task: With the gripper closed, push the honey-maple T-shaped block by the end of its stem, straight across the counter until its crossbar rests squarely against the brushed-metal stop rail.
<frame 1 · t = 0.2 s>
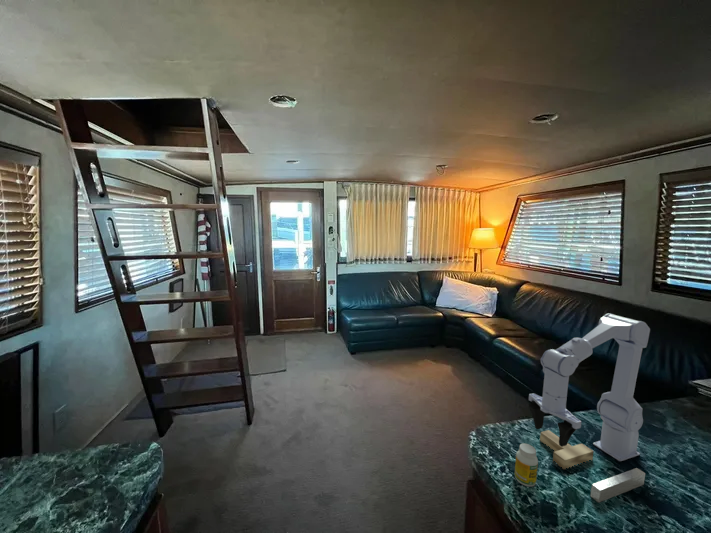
hand: (550, 436, 88), 10 cm above the table, tool pointing down, fingers open, 7 cm apart
supplement bottle: (524, 480, 85), on the table
maple t block: (572, 460, 92), on the table
stop rail: (617, 490, 82), on the table
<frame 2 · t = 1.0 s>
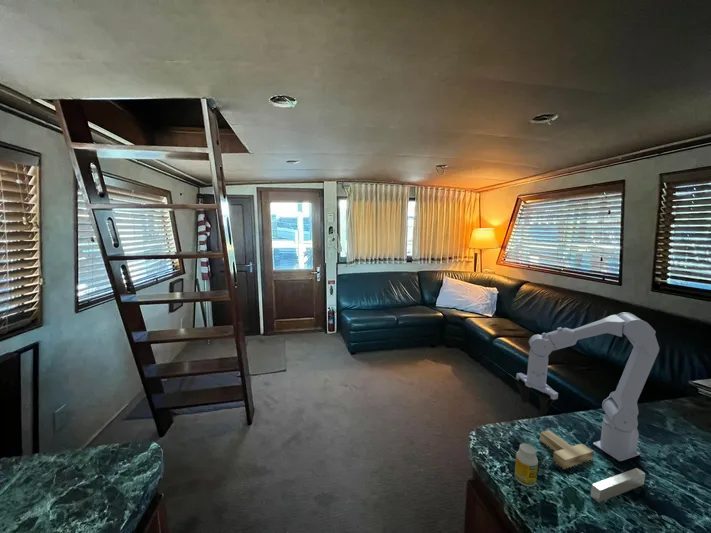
hand: (533, 407, 105), 8 cm above the table, tool pointing down, fingers open, 7 cm apart
nothing on the table moved.
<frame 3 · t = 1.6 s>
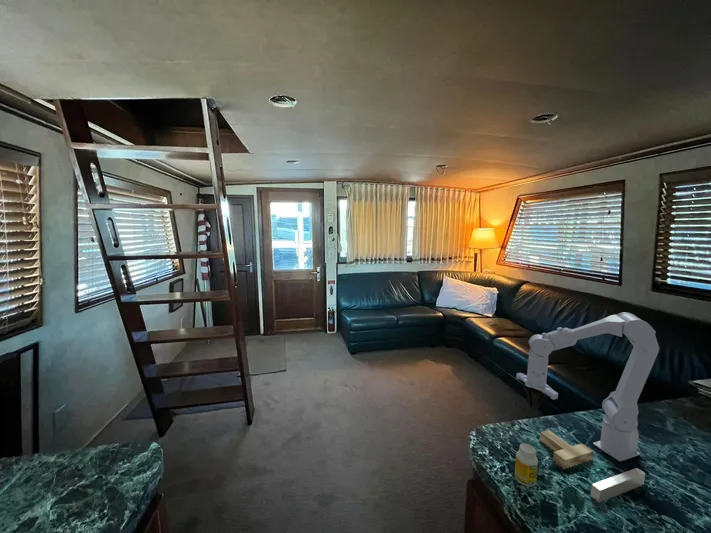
hand: (533, 407, 105), 8 cm above the table, tool pointing down, fingers closed
nothing on the table moved.
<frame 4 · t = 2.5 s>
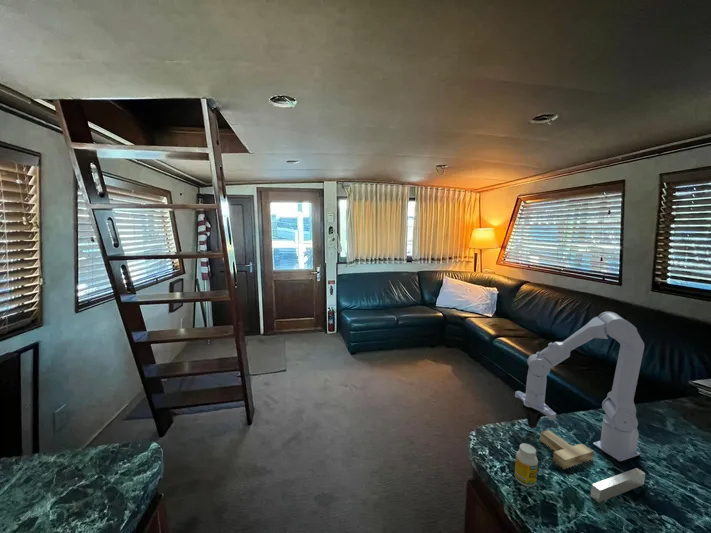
hand: (532, 426, 106), 1 cm above the table, tool pointing down, fingers closed
nothing on the table moved.
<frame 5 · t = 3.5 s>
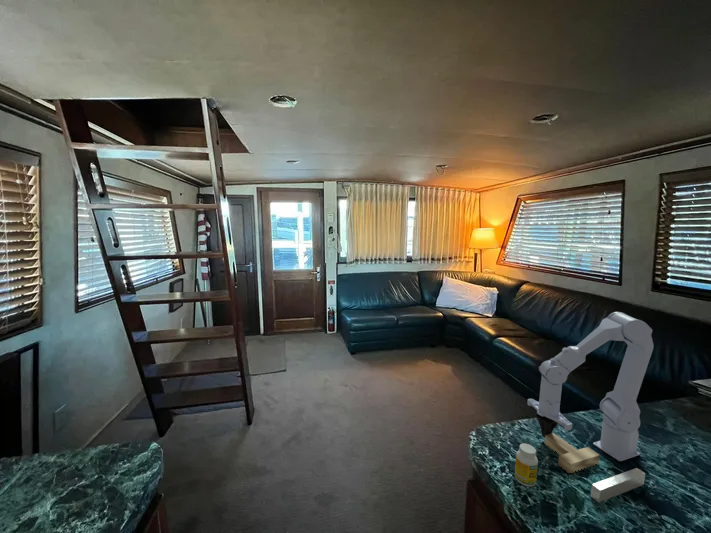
hand: (545, 436, 101), 1 cm above the table, tool pointing down, fingers closed
maple t block: (578, 464, 91), on the table, touching gripper
everything else where it was.
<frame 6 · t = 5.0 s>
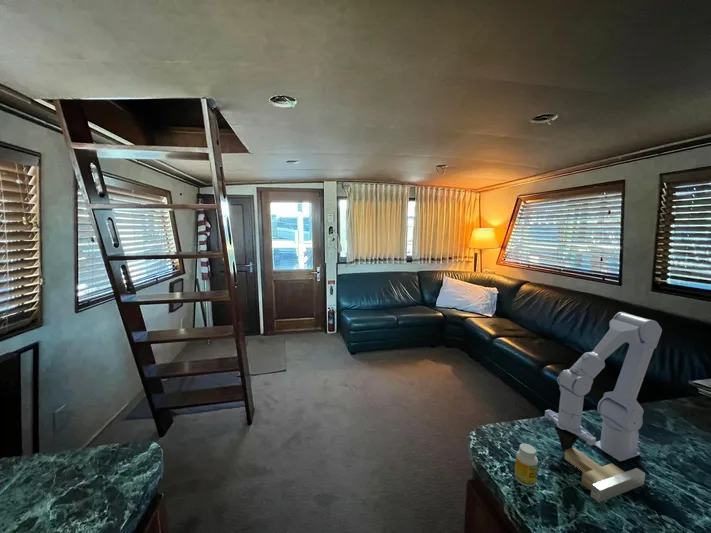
hand: (565, 450, 94), 1 cm above the table, tool pointing down, fingers closed
maple t block: (602, 482, 84), on the table, touching gripper
everything else where it was.
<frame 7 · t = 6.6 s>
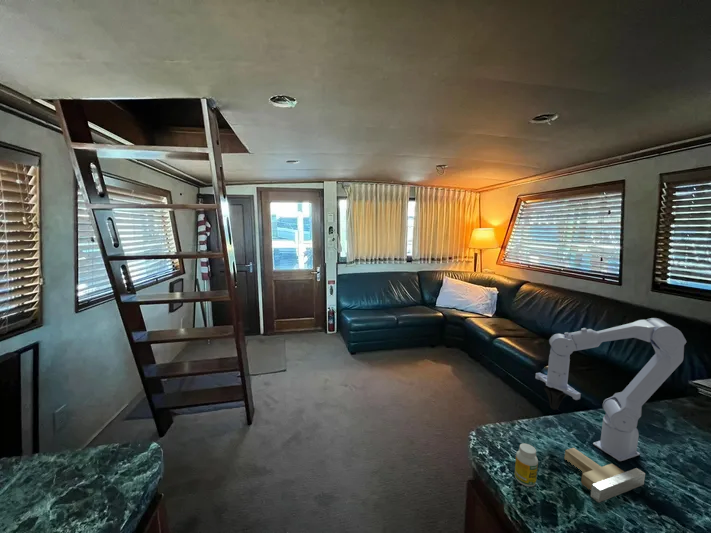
hand: (554, 408, 103), 9 cm above the table, tool pointing down, fingers closed
maple t block: (602, 482, 84), on the table
everything else where it was.
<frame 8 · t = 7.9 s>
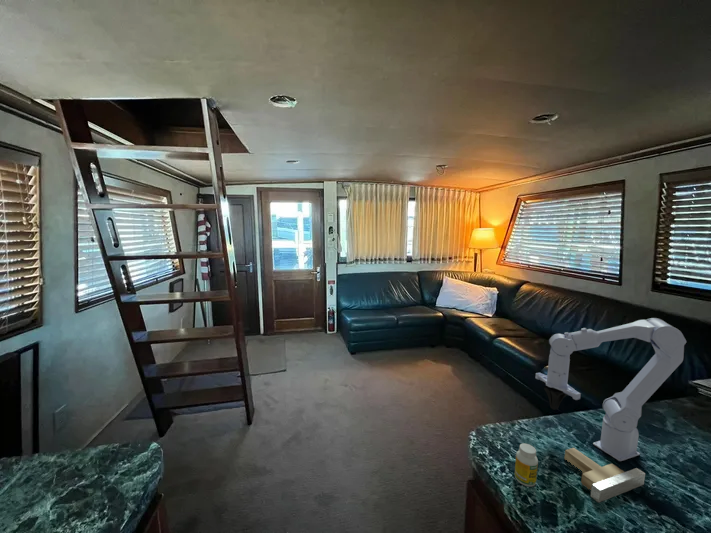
hand: (554, 408, 103), 9 cm above the table, tool pointing down, fingers closed
nothing on the table moved.
at the end: maple t block 0.4 cm from the target spot, on the table; maple t block tilted 0° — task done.
